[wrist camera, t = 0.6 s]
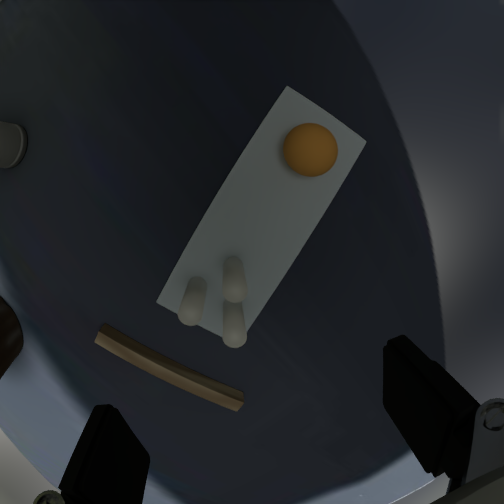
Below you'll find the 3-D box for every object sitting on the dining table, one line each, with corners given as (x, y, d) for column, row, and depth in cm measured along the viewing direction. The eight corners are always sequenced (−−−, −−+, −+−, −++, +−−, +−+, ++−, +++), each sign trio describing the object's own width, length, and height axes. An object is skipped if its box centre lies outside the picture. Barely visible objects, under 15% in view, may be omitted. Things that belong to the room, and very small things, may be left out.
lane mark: (286, 86, 32) (287, 85, 31) (366, 141, 34) (366, 141, 34) (156, 301, 36) (156, 302, 36) (237, 344, 39) (237, 344, 38)
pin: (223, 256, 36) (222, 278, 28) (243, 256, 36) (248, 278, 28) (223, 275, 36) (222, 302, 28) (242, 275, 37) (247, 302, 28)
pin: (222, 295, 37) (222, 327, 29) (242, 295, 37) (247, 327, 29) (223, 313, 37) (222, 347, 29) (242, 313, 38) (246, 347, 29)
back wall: (105, 323, 37) (98, 331, 34) (243, 392, 41) (244, 402, 38) (100, 333, 37) (94, 342, 34) (236, 400, 41) (237, 411, 39)
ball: (279, 125, 33) (289, 115, 27) (328, 130, 33) (346, 121, 27) (277, 175, 34) (288, 174, 28) (326, 178, 35) (345, 178, 29)
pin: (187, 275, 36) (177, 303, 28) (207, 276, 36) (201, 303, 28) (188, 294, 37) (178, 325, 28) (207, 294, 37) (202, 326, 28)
